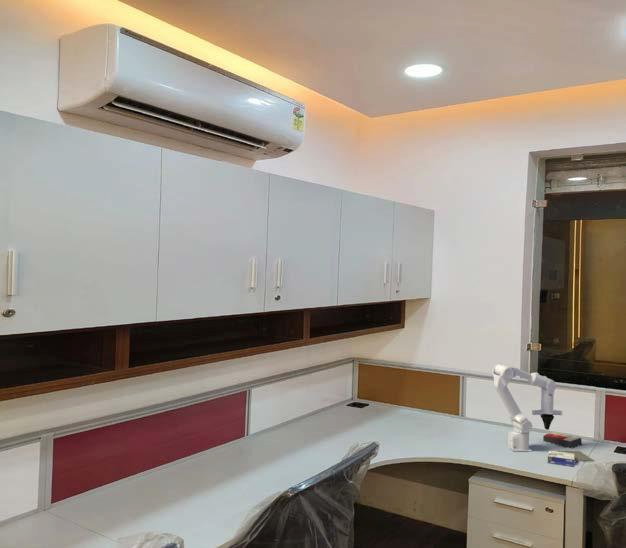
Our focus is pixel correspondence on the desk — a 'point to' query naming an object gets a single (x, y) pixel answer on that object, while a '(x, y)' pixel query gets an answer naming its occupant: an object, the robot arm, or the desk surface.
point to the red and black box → (562, 439)
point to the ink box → (561, 458)
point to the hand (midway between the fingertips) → (546, 429)
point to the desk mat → (579, 455)
